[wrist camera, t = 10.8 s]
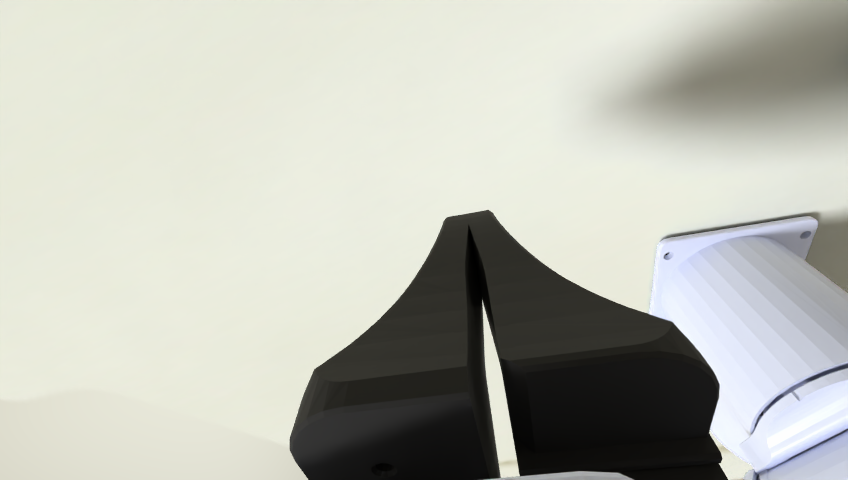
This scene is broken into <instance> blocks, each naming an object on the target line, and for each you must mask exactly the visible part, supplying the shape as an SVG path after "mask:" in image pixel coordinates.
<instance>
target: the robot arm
mask: <svg viewBox="0 0 848 480" xmlns="http://www.w3.org/2000/svg"><path fill="white" fill-rule="evenodd" d="M817 227H818V221H817V220H816V219H814V218H813V217H811V216H804V217H798V218H791V219H785V220H779V221H772V222H766V223H760V224H754V225H747V226H741V227H735V228H728V229H722V230H716V231H709V232H703V233H697V234H691V235H684V236H678V237H672V238H666V239H663V240H662V241H660V243H659V244H658V246H657V252H656V260H655V269H654V277H653V286H652V294H651V303H650V311H649V314H647V313H644V312H641V311H638V310H634V309H631V308H628V307H626V306H623V305H621V304H618V303H616V302H613V301H611V300H608V299H606V298H603V297H601V296H599V295H597V294H595V293H592V292H590V291H588V290H586V289H584V288H582V287H580V286H579V285H577V284H575V283H573V282H571V281H569V280H567V279H565V278H564V277H562V276H560V275H559V274H557V273H556V272H554V271H553V270H551V269H550V268H549V267H547V266H546V265H544V264H543V263H542V262H540V261H539V260H538V259H537V258H535V257H534V256H533V255H532V254H530V253H529V252H528V251H527V250H526V249H525V248H524V247H522V246H521V245H520V244H519V243H518V242H517V241H516V240H515V239H514V238H513V237H512V236H511V235H510V234H509V233H508V232H507V231H506V230H505V228H504V227H503V226H502V225H501V224H500V223H499V221H498V220H497V219H496V217H495V216H494V214H493V213H492V212H491V211H489V210H486V211H480V212H475V213H469V214H463V215H458V216H452V217H447V218H446V219H445V220H444V222H443V225H442V228H441V230H440V233H439V235H438V237H437V239H436V242H435V244H434V246H433V248H432V249H431V251H430V253H429V255H428V257H427V259H426V261H425V262H424V264H423V265H422V267H421V269H420V270H419V272H418V273H417V275H416V277H415V278H414V280H413V281H412V282H411V284H410V285H409V287H408V288H407V289H406V290H405V292H404V293H403V294H402V295H401V297H400V298H399V299H398V300H397V301H396V303H395V304H394V305H393V306H392V307H391V308H390V309H389V310H388V311H387V312H386V313H385V314H384V315H383V316H382V317H381V318H380V319H379V320H378V321H377V322H376V323H375V324H374V325H373V326H371V327H370V328H369V329H368V330H367V331H366V332H365V333H363V334H362V335H361V336H360V337H359V338H357V339H356V340H355V341H354V342H352V343H351V344H350V345H348V346H347V347H346V348H344V349H343V350H342V351H340V352H339V353H337V354H336V355H334V356H333V357H332V358H330V359H329V360H327V361H326V362H325V363H323V364H322V365H320V366H319V367H317V368H316V369H314V371H313V374H312V376H311V379H310V381H309V383H308V385H307V388H306V390H305V393H304V396H303V398H302V401H301V404H300V408H299V411H298V414H297V417H296V420H295V424H294V427H293V430H292V433H291V436H290V451H291V453H292V455H293V457H294V459H295V461H296V463H297V464H298V466H299V467H300V468H301V470H302V471H303V472H304V474H305V475H306V477H307V478H308V480H728V479H727V477H726V475H725V474H724V472H723V470H722V468H721V467H720V465H719V463H721V461H722V456H721V452H720V451H719V449H718V447H717V446H716V444H715V442H714V441H713V439H712V437H711V436H710V434H709V430H710V431H711V432H712V434H713V435H714V436H715V437H716V439H717V440H718V441H719V442H720V443H721V444H722V445H723V446H725V447H726V448H727V449H728V450H729V451H731V452H732V453H733V454H735V455H736V456H737V457H739V458H740V459H742V460H744V461H745V462H747V463H749V464H751V466H752V467H753V469H752V470H749V471H748V472H746V474H745V475H744V477H743V480H848V293H847V292H846V291H844V290H843V289H842V288H840V287H839V286H838V285H836V284H835V283H834V282H832V281H831V280H830V279H828V278H827V277H826V276H824V275H823V274H822V273H821V272H819V271H818V270H817V269H815V268H814V267H813V266H811V265H810V264H809V263H807V262H806V261H805V259H806V256H807V254H808V251H809V248H810V246H811V243H812V240H813V238H814V235H815V232H816V229H817ZM803 232H804V233H803ZM802 233H803V234H802ZM668 252H670V253H669V254H668V255H666V256H664V255H665V254H666V253H668ZM482 300H483V303H484V307H485V311H486V314H487V318H488V322H489V325H490V329H491V332H492V336H493V340H494V343H495V347H496V351H497V354H498V358H499V362H500V366H501V371H502V375H503V381H504V387H505V393H506V398H507V404H508V410H509V416H510V421H511V427H512V433H513V439H514V445H515V450H516V456H517V462H518V468H519V474H520V476H519V477H507V478H501V477H500V470H499V463H498V457H497V450H496V443H495V436H494V429H493V422H492V415H491V408H490V401H489V394H488V387H487V380H486V371H485V357H484V332H483V308H482Z"/></svg>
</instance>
